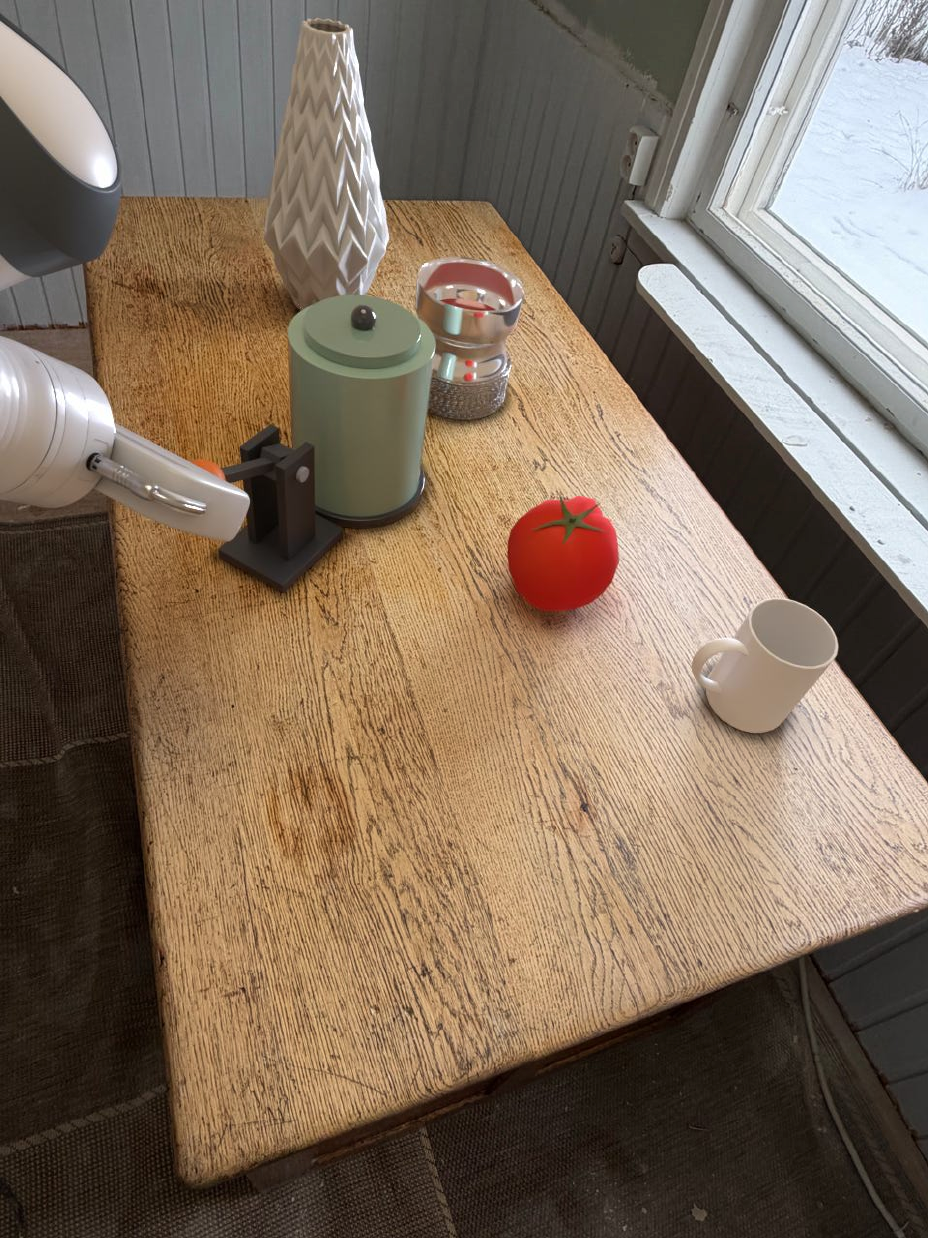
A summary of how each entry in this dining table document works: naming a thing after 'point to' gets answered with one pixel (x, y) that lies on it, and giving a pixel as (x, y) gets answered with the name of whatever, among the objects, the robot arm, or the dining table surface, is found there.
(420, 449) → the green canister
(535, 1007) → the dining table surface
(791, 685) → the mug
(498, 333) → the silver candle holder
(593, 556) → the tomato
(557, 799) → the dining table surface
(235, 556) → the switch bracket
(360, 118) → the vase
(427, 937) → the dining table surface
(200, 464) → the switch
